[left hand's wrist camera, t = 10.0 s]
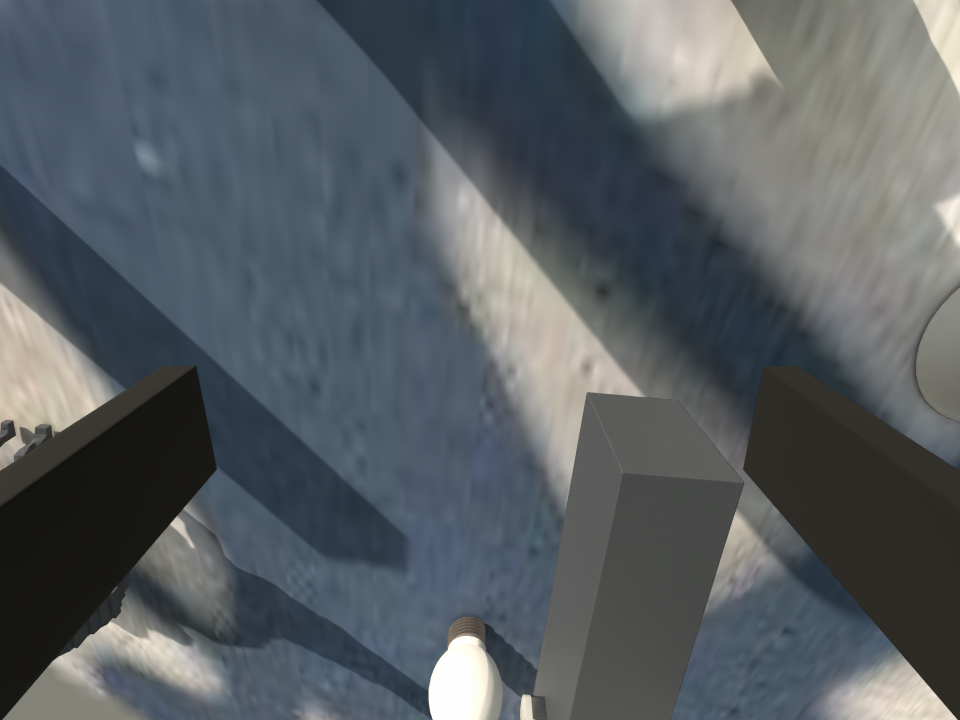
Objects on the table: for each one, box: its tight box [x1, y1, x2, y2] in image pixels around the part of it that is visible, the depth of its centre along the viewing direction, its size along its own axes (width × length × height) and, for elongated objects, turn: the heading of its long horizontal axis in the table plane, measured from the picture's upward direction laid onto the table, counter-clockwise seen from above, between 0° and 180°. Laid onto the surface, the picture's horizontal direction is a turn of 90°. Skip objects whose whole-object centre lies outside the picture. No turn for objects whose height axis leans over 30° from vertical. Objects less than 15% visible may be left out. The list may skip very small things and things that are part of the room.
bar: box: [533, 392, 744, 720], centre depth 30 cm, size 25×5×8 cm, turn 175°
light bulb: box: [429, 617, 503, 720], centre depth 50 cm, size 7×7×11 cm
